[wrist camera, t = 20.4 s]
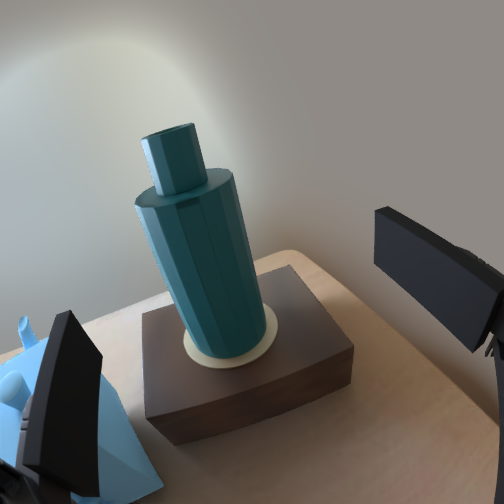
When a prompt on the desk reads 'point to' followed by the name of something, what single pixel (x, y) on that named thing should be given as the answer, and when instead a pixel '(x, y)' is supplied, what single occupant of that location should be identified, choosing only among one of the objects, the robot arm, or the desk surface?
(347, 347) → the dark brown wooden block
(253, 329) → the bottle
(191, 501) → the desk surface
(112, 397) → the teapot
